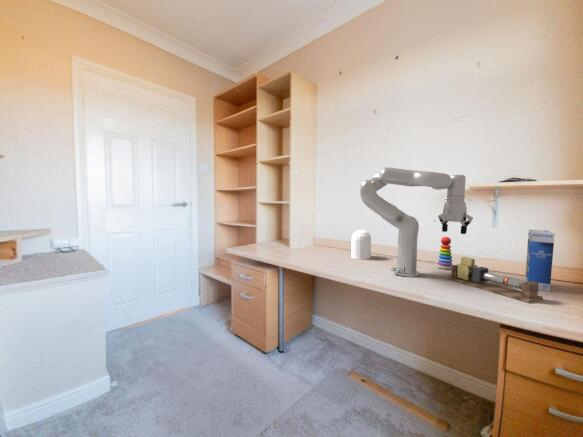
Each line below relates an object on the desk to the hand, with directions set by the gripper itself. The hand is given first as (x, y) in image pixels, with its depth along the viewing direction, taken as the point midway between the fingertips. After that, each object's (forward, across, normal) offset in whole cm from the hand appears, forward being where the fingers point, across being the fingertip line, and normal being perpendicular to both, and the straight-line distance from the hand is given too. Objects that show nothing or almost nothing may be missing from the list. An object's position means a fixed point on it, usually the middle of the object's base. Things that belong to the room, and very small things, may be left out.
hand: (453, 232), depth 128 cm
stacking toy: (+23, -13, +13) cm, 30 cm away
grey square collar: (+21, +14, 0) cm, 25 cm away
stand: (+23, +18, 0) cm, 29 cm away
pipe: (+20, +18, -1) cm, 27 cm away
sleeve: (+21, +8, 0) cm, 23 cm away
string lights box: (+23, +25, +22) cm, 41 cm away
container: (+24, -55, -14) cm, 62 cm away
